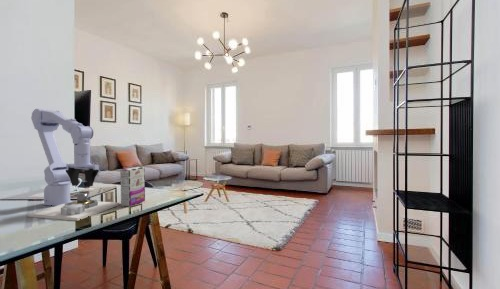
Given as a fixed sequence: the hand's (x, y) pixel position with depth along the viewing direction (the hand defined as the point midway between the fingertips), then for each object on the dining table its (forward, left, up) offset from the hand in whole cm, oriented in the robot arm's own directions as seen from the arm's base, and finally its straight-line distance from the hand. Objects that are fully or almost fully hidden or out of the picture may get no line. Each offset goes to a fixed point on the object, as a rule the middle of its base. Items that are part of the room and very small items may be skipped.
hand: (82, 185), depth 109 cm
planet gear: (0, -1, -8) cm, 8 cm away
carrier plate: (+1, -4, -9) cm, 10 cm away
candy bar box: (+16, +11, -10) cm, 22 cm away
